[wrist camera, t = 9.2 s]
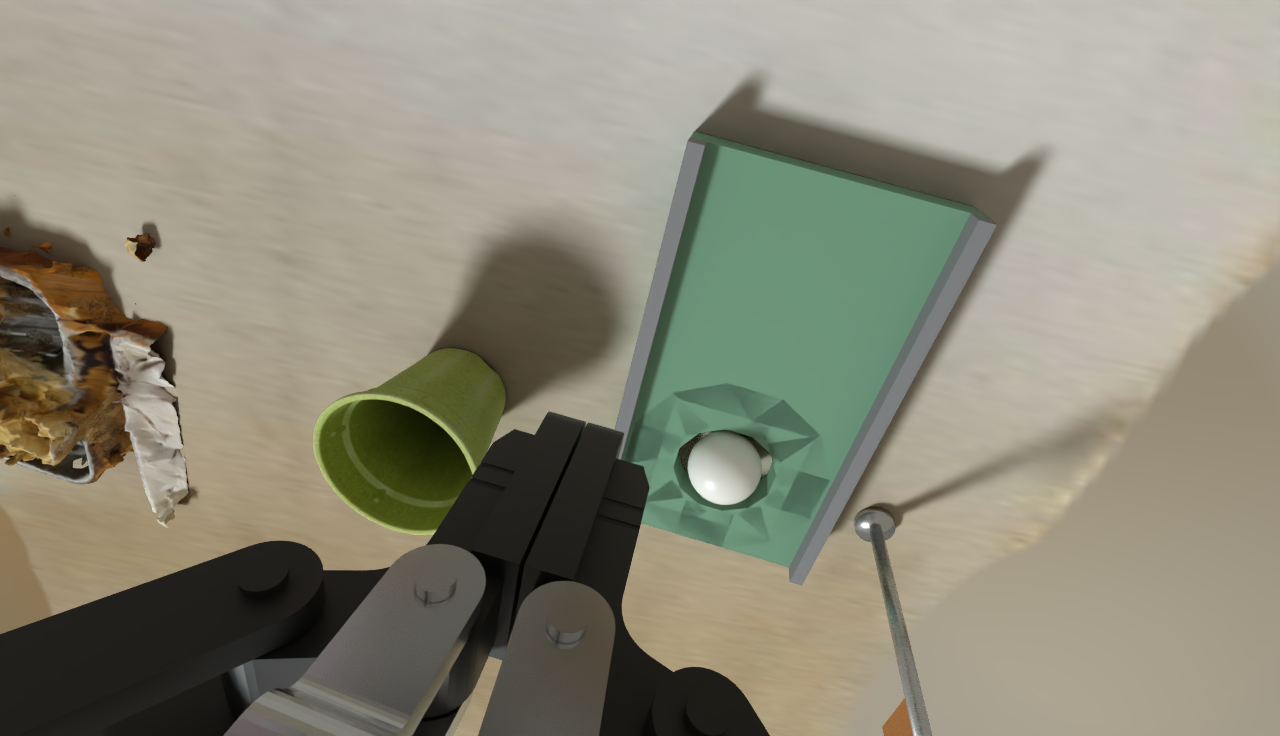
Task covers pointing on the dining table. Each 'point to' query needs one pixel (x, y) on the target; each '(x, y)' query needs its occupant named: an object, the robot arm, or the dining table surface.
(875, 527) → the pin
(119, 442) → the food tray
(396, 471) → the plant pot
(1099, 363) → the dining table surface
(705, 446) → the ball
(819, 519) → the lane
